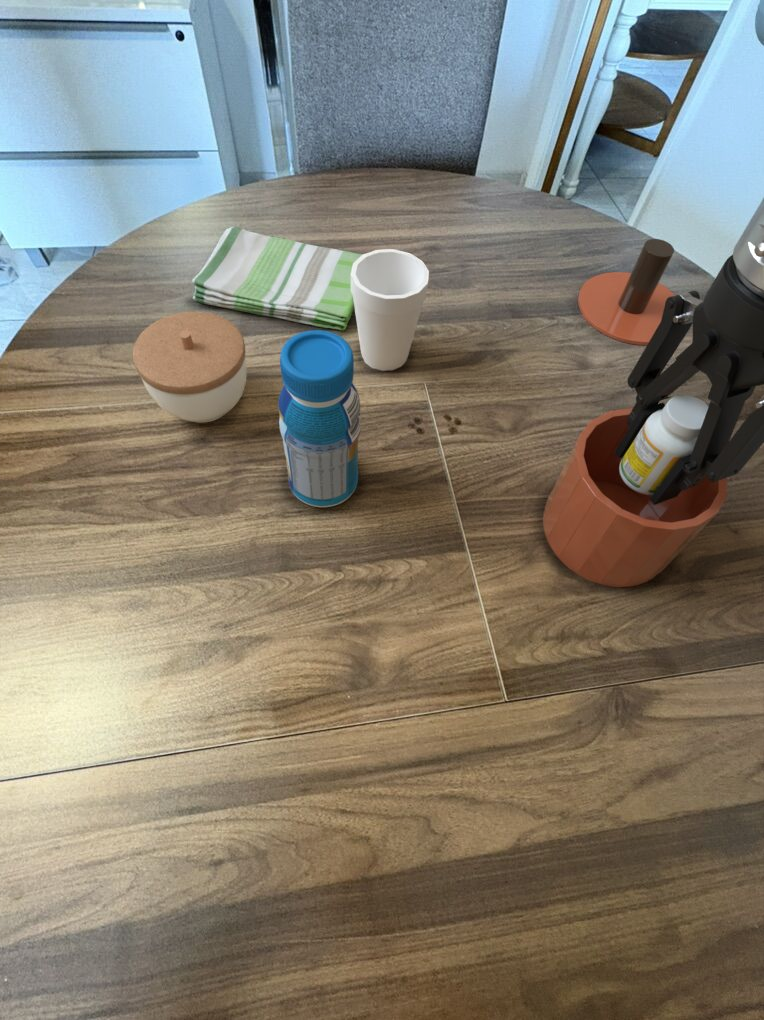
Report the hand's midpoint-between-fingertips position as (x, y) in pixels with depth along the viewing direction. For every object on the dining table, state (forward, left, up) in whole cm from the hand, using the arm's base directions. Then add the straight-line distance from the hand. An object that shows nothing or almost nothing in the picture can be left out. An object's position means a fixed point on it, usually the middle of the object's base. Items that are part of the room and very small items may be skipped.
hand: (644, 473), depth 61 cm
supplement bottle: (0, 0, 0) cm, 1 cm away
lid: (-25, -31, -10) cm, 41 cm away
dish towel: (+21, -54, -11) cm, 59 cm away
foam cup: (+13, -35, -11) cm, 39 cm away
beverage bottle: (+28, -18, -11) cm, 35 cm away
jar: (0, 0, -11) cm, 11 cm away
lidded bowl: (+38, -35, -11) cm, 53 cm away
